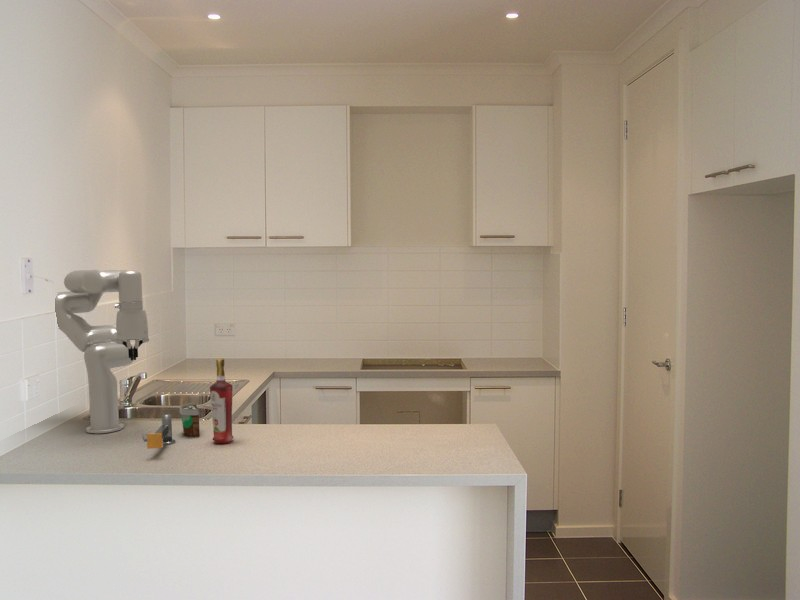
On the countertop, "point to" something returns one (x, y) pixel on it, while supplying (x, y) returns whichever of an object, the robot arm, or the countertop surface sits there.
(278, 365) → the countertop surface
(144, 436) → the label tile
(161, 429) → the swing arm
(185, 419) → the food container
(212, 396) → the liquor
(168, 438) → the pivot post
